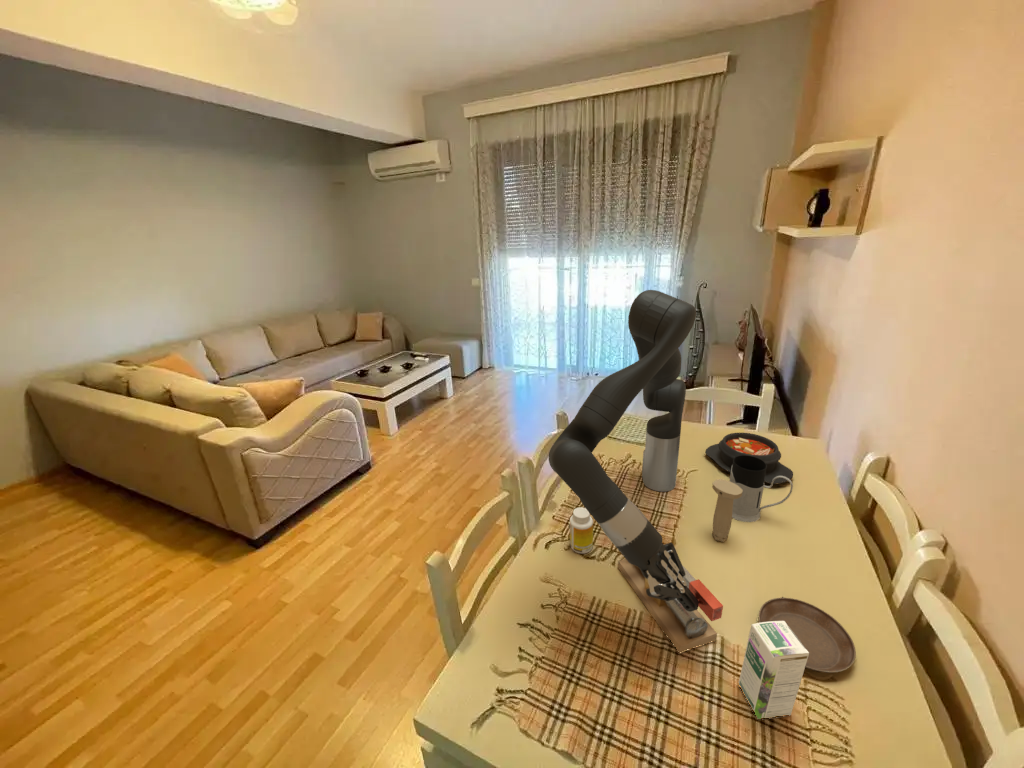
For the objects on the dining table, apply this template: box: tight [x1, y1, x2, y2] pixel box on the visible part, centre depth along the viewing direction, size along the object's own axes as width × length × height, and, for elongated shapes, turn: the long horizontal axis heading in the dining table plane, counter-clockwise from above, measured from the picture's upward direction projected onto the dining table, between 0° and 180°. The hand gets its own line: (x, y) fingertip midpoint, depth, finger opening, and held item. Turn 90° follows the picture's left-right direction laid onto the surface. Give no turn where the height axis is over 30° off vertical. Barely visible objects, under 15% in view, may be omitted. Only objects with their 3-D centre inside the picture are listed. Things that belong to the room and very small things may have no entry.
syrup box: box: [738, 621, 809, 720], centre depth 67 cm, size 6×6×14 cm
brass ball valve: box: [637, 566, 708, 639], centre depth 86 cm, size 21×5×9 cm, turn 16°
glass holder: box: [728, 455, 794, 523], centre depth 108 cm, size 9×14×15 cm, turn 50°
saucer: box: [758, 597, 857, 674], centre depth 78 cm, size 15×15×3 cm
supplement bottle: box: [569, 506, 594, 554], centre depth 102 cm, size 6×6×10 cm
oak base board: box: [617, 558, 718, 654], centre depth 88 cm, size 22×8×2 cm, turn 16°
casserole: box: [705, 432, 794, 485], centre depth 130 cm, size 25×19×8 cm
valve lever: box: [670, 556, 724, 622], centre depth 78 cm, size 15×3×3 cm, turn 17°
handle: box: [711, 478, 743, 543], centre depth 101 cm, size 5×6×15 cm
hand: (694, 607), depth 74 cm, fingers closed
